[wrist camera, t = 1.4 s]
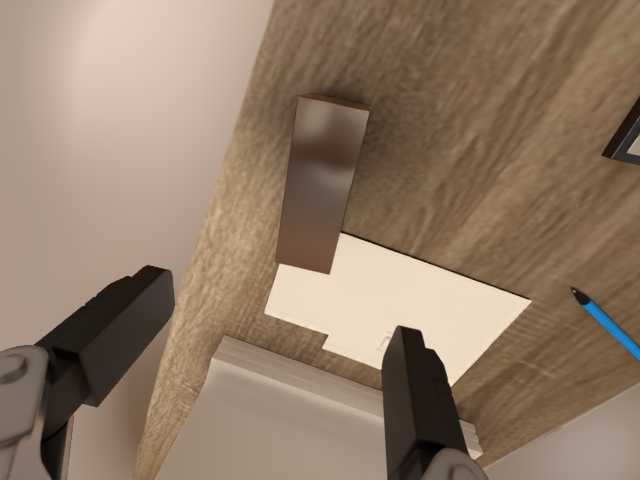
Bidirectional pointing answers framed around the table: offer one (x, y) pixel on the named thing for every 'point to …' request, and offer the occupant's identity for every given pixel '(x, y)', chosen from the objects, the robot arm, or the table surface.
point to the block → (281, 423)
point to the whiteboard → (627, 139)
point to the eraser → (319, 179)
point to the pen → (608, 324)
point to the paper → (393, 305)
